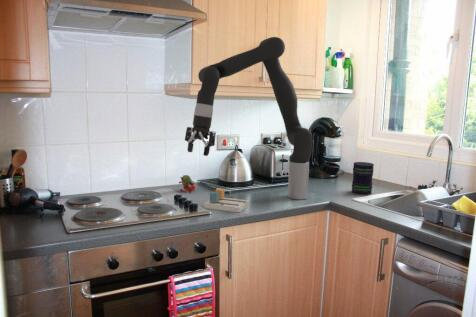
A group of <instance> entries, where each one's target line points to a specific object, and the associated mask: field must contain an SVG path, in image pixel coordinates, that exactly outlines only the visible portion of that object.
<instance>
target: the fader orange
mask: <svg viewBox="0 0 476 317" xmlns="http://www.w3.org/2000/svg"><path fill="white" fill-rule="evenodd" d="M215 192H219V199H221V200H222V199H224V198H225V188H217V189H215Z"/></svg>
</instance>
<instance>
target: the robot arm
mask: <svg viewBox="0 0 476 317" xmlns="http://www.w3.org/2000/svg"><path fill="white" fill-rule="evenodd" d="M285 50H286V44H285V42H284V40H283V39H282V38H280V37H278V36H270V37H268V38H265V39H263V40H261V41H260V43H259V44H258V46H256V47H254V48H252V49H249V50H246V51H244V52H240V53H237V54H235V55H232V56H230V57H228V58H227V57H226V58H225V59H223V60H220V61H219V62H217V63H214V64H209V65H207V66H204V67H203V68H201V69H200V70H199V72H198V80H199V81H200V82H201V87H200V89H199V90H198V92H197V95H196V103H195V107H194V113H193V121H192V125H193V127H192V126H187V127H186V131H185V137H184V141H185V142H187V152H188V153H193V151H194V143H195V141H197V140H199V141H202V142H203V145H204V149H203V154H202V155H203V156H205V157H209V156H208V155H209V154H210V150H211V149H210V148H211V147H214V146H215V145H216V144H215V143H216V141H215V140H216V131H212V130H210V129H211V128H212V127H211V126H212V121H213V120H212V119H213V113H214V104H215V95H216V92H217V90H218V86H219V83H220V80H221V79H222V78H227V77H230V76H233V75H235V74H238V73H240V72H242V71H244V70H246V69H248V68H250V67H253V66H254V65H257V64H259V63H261V62H262V63H263V66H264V68H265V70H266V73H267V76H268V78H269V79H268V80H269V82H270V84H271V88H272V90H273V94H274V98H275V100H276V103H277V105H278V106H277V107H278V108H279V111H280V113H281V117H282V120H283V124H284V128H285V133H286V137H287V140H288V142H289V143H290V145H292V146H293V151H292V154H290V155H289V156H288V157H289V158H288V159H289V161H288V184H287V197H288V198H289V199H292V200H306V199H308V193H309V191H308V190H309V175H310V174H309V173H310V172H309V171H310V159H311V156H312V149H313V141H314V140H313V134H312V131H311V130H310V129H308V128H306V127H302V124H301V122H300V119H299V116H298V96H297V92H296V90H295V87H294V84H293V82H292V81H291V79H290V78H289V77H288V75H287V74H286V73H285V71H284V69H283V68H282V66H281V62H280V59H279V58H281V57H282V56H283V54H284V52H285Z"/></svg>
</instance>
